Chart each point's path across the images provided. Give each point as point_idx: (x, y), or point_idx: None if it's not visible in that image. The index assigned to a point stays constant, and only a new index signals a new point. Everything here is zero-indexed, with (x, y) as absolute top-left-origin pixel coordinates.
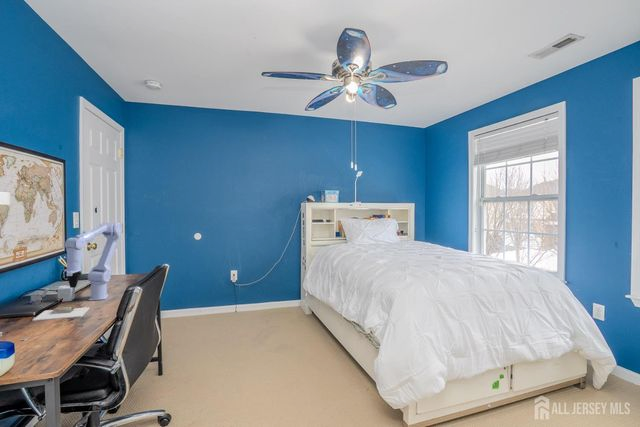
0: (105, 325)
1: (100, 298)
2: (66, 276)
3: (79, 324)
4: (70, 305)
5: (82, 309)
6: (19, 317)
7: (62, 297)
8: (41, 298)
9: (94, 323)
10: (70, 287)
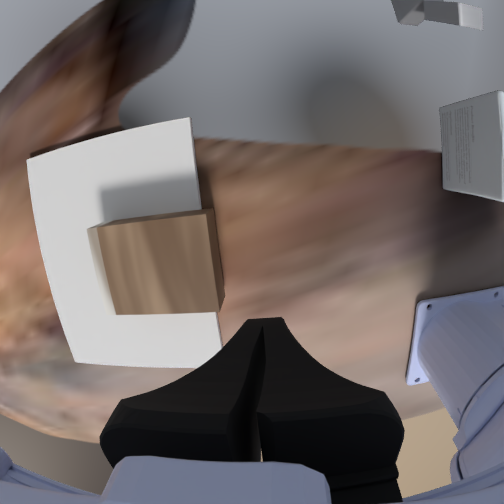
0: (25, 424)
1: (419, 363)
2: (119, 407)
3: (13, 364)
4: (150, 299)
5: (178, 344)
6: (100, 49)
7: (456, 135)
8: (422, 11)
9: (29, 402)
10: (246, 321)
